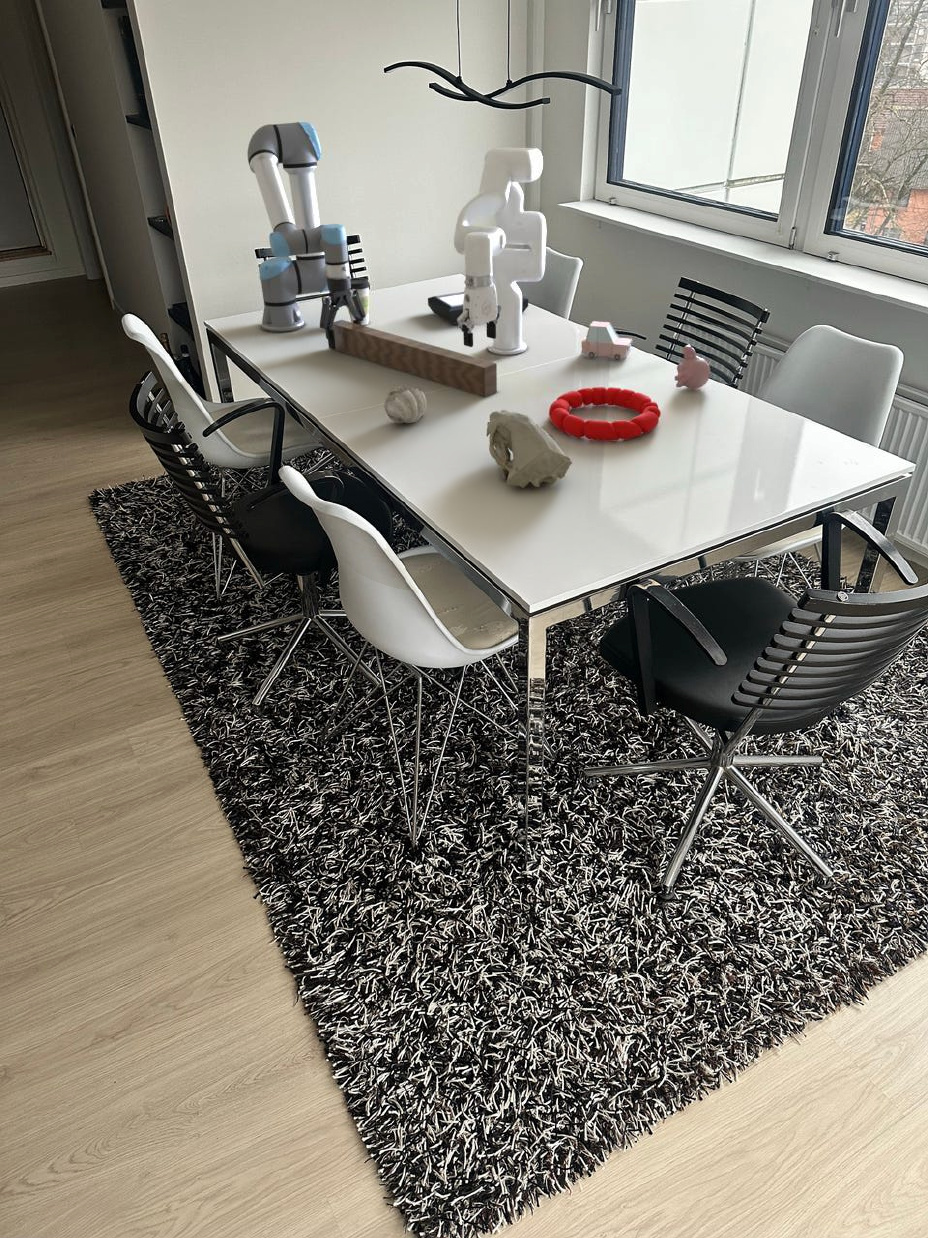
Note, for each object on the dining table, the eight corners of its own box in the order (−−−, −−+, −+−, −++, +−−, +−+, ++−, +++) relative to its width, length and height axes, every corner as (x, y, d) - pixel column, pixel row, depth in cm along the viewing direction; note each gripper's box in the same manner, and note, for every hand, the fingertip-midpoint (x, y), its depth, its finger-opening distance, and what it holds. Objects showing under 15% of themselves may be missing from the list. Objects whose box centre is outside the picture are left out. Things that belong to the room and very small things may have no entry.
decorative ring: (589, 435, 224) (684, 402, 234) (527, 398, 247) (617, 369, 256) (589, 461, 229) (683, 427, 238) (529, 422, 251) (617, 393, 260)
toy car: (626, 362, 283) (628, 330, 277) (579, 358, 288) (580, 327, 282) (632, 353, 290) (634, 322, 285) (586, 349, 295) (588, 318, 289)
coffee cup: (372, 326, 323) (368, 283, 314) (345, 327, 323) (340, 284, 315) (374, 318, 331) (371, 276, 322) (348, 319, 331) (344, 277, 323)
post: (332, 348, 303) (329, 322, 298) (344, 345, 306) (341, 319, 301) (485, 396, 262) (484, 367, 257) (496, 392, 265) (496, 363, 260)
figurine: (665, 387, 264) (669, 347, 257) (693, 380, 268) (698, 340, 261) (686, 396, 257) (690, 355, 250) (714, 388, 262) (720, 348, 255)
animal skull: (496, 517, 219) (521, 479, 201) (463, 429, 225) (484, 384, 207) (557, 503, 225) (586, 465, 206) (523, 417, 231) (549, 373, 212)
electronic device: (448, 308, 317) (427, 295, 332) (449, 326, 320) (428, 312, 335) (528, 296, 327) (504, 284, 342) (528, 313, 330) (504, 301, 346)
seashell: (375, 421, 248) (372, 387, 243) (423, 410, 254) (421, 376, 248) (391, 434, 241) (388, 398, 235) (439, 422, 246) (438, 387, 241)
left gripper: (317, 285, 280) (325, 355, 292) (372, 271, 294) (378, 338, 306) (302, 282, 284) (311, 350, 297) (358, 267, 298) (364, 333, 310)
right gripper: (467, 289, 241) (468, 351, 251) (509, 276, 251) (509, 337, 261) (447, 284, 245) (449, 346, 255) (489, 272, 255) (490, 332, 265)
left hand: (345, 344), depth 301 cm, fingers open, 11 cm apart
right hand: (480, 341), depth 258 cm, fingers open, 9 cm apart
